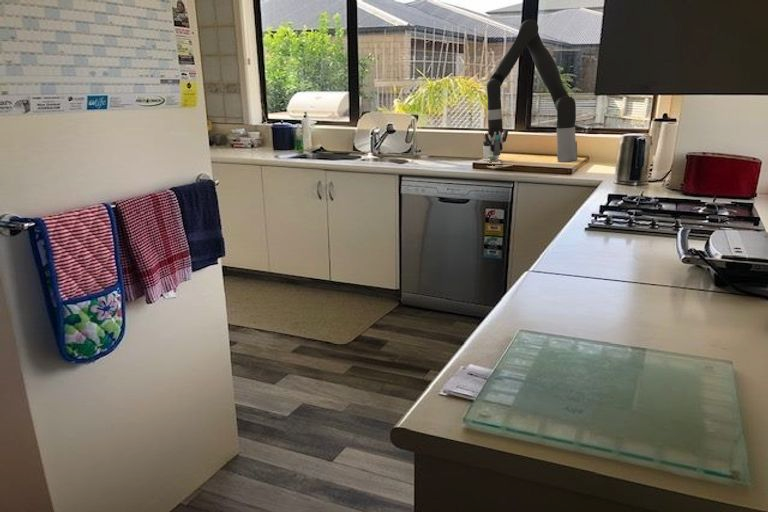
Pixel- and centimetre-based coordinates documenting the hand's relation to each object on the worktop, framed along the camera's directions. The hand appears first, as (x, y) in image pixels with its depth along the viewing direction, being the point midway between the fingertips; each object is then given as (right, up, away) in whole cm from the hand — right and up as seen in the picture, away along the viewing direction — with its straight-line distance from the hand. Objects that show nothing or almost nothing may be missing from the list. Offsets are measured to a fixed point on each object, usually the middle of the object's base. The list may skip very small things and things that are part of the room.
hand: (496, 151), depth 316 cm
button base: (0, -5, +13) cm, 14 cm away
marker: (0, -2, +1) cm, 2 cm away
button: (0, -3, +13) cm, 13 cm away
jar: (+2, -2, +25) cm, 25 cm away
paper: (+3, -8, +4) cm, 9 cm away
